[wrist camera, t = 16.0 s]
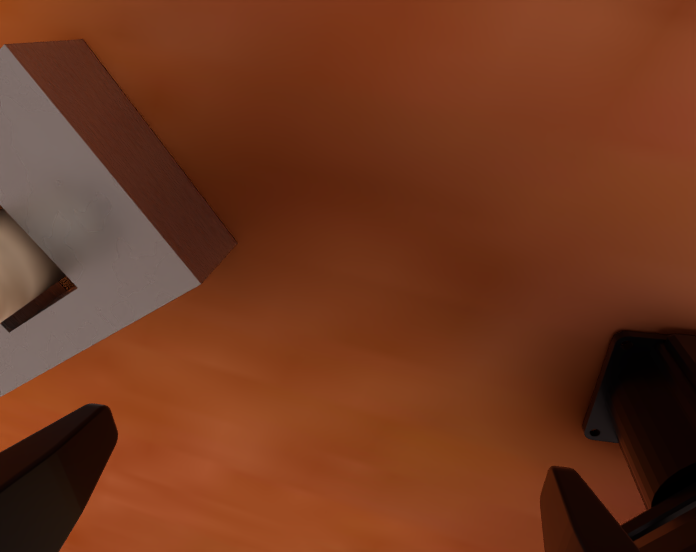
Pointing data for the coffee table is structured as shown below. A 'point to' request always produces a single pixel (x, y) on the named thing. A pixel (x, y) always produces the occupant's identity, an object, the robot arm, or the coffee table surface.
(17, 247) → the pin
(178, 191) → the socket block
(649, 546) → the robot arm
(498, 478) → the coffee table surface
